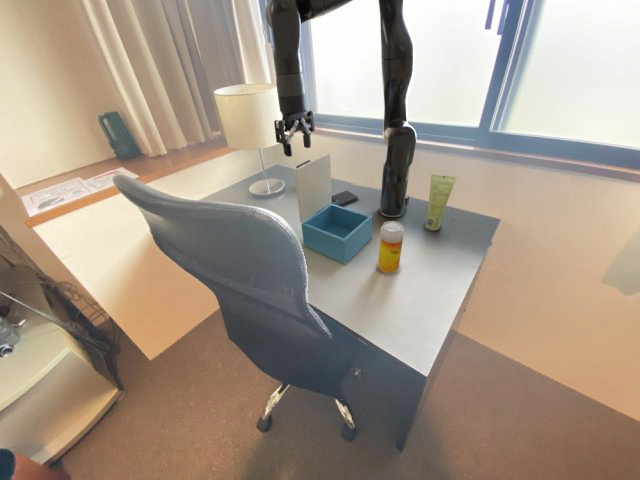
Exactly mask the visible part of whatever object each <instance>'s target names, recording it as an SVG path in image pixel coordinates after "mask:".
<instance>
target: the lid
mask: <svg viewBox="0 0 640 480" xmlns="http://www.w3.org/2000/svg"><path fill="white" fill-rule="evenodd" d="M331 168H332V167H331V152H326V153H324V154H323V155H320V156H319V157H316V158H314V159H312V160H310V159H308V160H306V161H304V162H302V163H300V164H298V165H296V166H295V168H294V179H295V180H294V181H295V188H296V199H297V208H298V213H299V214H298V215H299V223H301V224H302V223H303V222H305V221H306V220H307V219H309V218H310V217H312V216H313V215H315V214H316V213H317V212H318V211H320V210H321V209H323V208H324V207H326V206H327V205H329V204H330V203H331V202H332V199H331V196H332V169H331Z"/></svg>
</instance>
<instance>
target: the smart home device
mask: <svg viewBox="0 0 640 480" xmlns="http://www.w3.org/2000/svg"><path fill="white" fill-rule="evenodd" d="M331 199H332V202H331V203H330V204H335V205H338V206H341V207H345V206H347V205H349V204H352V203H356V202H358V200H359V196H358V195H356V194H354V193H352V192H350V191H349V190H344V191H342V192H339V193H336V194H334V195H331ZM327 206H328V205H327ZM324 208H325V207H324ZM321 210H322V209H321ZM318 212H319V211H318ZM318 212H317V213H318Z"/></svg>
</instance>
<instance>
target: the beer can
mask: <svg viewBox="0 0 640 480" xmlns="http://www.w3.org/2000/svg"><path fill="white" fill-rule="evenodd" d="M404 235H405V229H404V226H403V224H402V223H401V222H399V221H395V220H389V221H385V222H384V223H383V224H382V226H381V227H380V235H379V245H378V258H377V259H378V260H377V267H378V269H379V270H380V271H381V272H382V273H384V274H388V275H389V274H394V273H395V272H397V271H398V270H399V268H400V263H401V262H400V261H401V255H402V247H403V241H404Z"/></svg>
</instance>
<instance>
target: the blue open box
mask: <svg viewBox="0 0 640 480" xmlns="http://www.w3.org/2000/svg"><path fill="white" fill-rule="evenodd" d="M372 231H373V216H371V215H368V214H366V213H363V212H359V211H356V210H353V209H350V208H347V207H345V206H342V207H341V206H338V205H335V204H329V205H328V206H326V207H325V208H323V209H322V210H320V211H319V212H318V213H315V214H314V215H313V216H311V217H310V218H308V219H307V220H305V221H304V222H302V223H301V233H302V241H303V246H304V247H305V248H309V249H311V250H312V251H315V252H317V253H319V254H322V255H324V256H326V257H328V258H330V259H332V260H334V261H337V262H339V263H341V264H343V265H346V264H347V263H348V262H349V261H350V260H351V259H352V258H353V257H354V256H355V255H356V254H357V253H358V252H360V250H362V248H364V247H365V246H366V245H367V244H368V243H369V242H370V241H371V240H372V235H373V233H372Z"/></svg>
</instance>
